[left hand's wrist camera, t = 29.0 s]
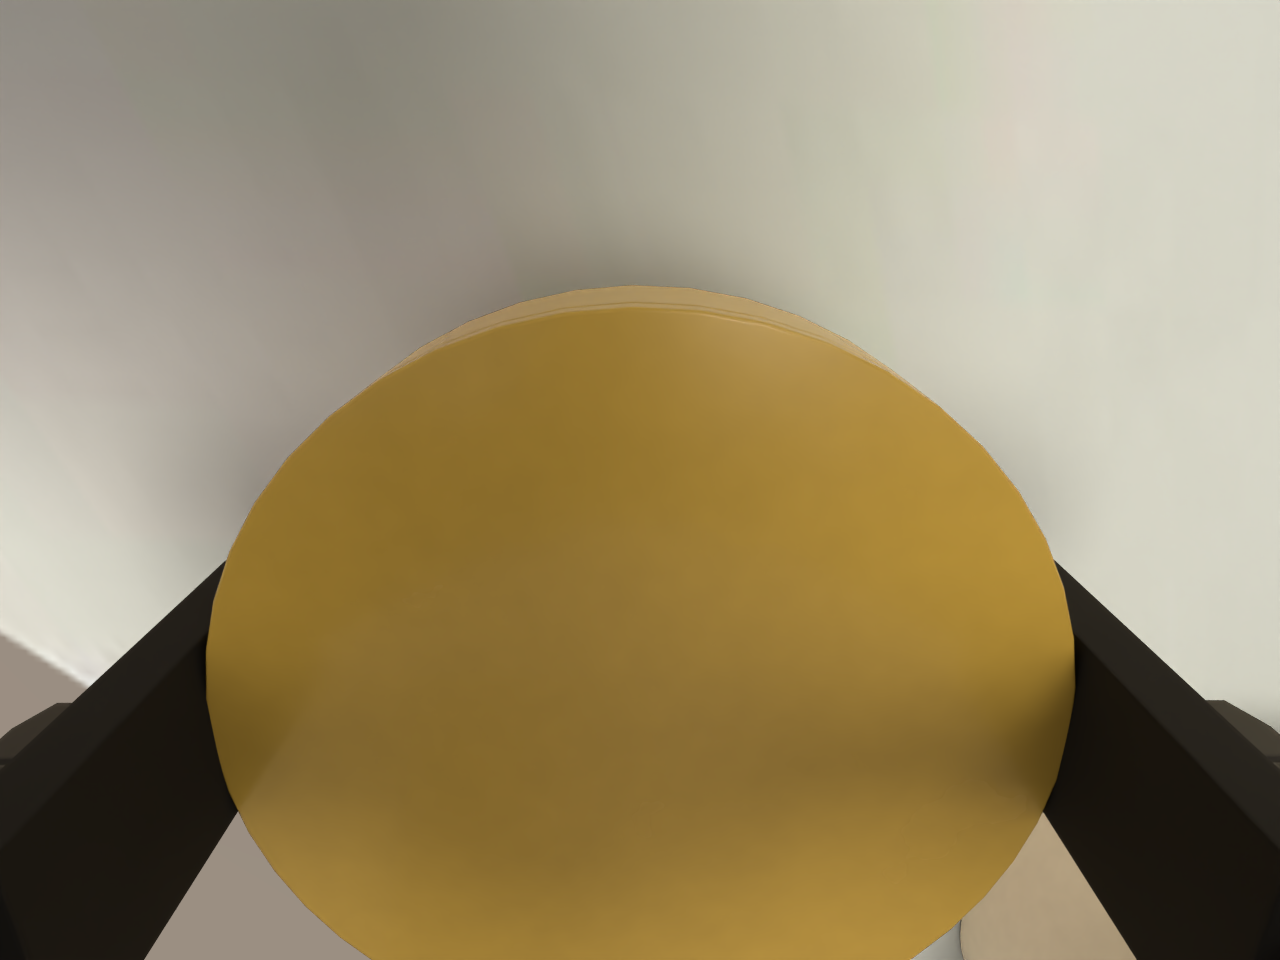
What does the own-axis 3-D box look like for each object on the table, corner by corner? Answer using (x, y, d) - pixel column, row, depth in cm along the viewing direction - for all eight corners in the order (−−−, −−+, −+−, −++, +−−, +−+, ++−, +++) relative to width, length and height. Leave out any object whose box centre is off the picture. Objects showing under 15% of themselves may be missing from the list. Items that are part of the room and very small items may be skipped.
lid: (283, 902, 14) (231, 1008, 12) (248, 236, 10) (164, 248, 8) (915, 956, 14) (954, 1066, 13) (1113, 336, 11) (1207, 369, 9)
